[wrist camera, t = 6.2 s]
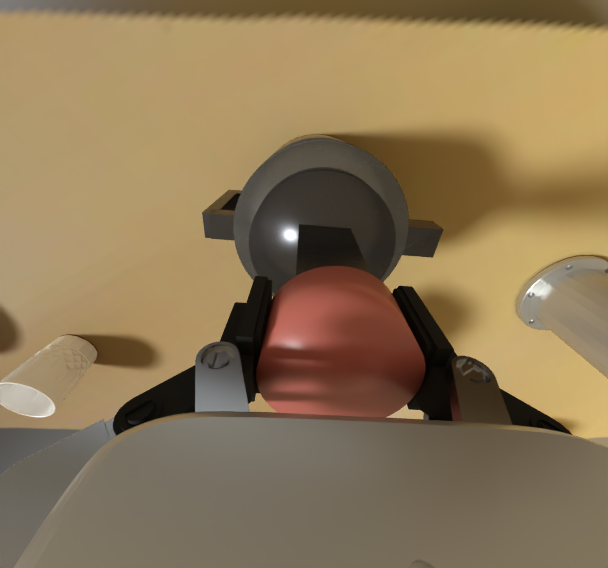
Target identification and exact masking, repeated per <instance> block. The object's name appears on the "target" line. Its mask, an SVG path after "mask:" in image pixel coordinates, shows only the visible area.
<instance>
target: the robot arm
mask: <svg viewBox="0 0 608 568" xmlns="http://www.w3.org/2000/svg"><path fill="white" fill-rule="evenodd" d="M392 295H393V297H394V299H395V300H396V302H397V304H398V306H399V308H400V310H401V312H402V314H403V316H404V318H405V320H406V322H407V324H408V326H409V328H410V330H411V331H412V333H413V335H414V337H415V339H416V341H417V343H418V345H419V347H420V349H421V351H422V353H423V356H424V360H425V376H424V380H423V382H422V385H421V387H420V389H419V390H418V392H417V393H416V395H415V396H414V397H413V398H412V399H411V400H410V401H409V402H408V403H407V406H408V409H413V410H421V411H423V412H424V416H423V417H424V420H421V419H402V418H382V417H361V416H340V415H318V414H295V413H272V412H250V411H249V406H248V404H249V403H250V402H251V401H253V402H254V401H255V395H256V393H260V391H259V389H258V385H257V380H256V370H257V364H258V360H259V357H260V352H261V347H262V342H263V337H264V331H265V326H266V321H267V316H268V311H269V306H270V304H271V301H272V280H268V277H267V276H255V278H254V282H253V285H252V288H251V291H250V294H249V297H248V300H247V303H238V302H236V303H235V304H234V306H233V309H232V311H231V314H230V317H229V319H228V322H227V324H226V327H225V329H224V332H223V335H222V337H221V340H220V342H214V343H210V344H208V345H206V346H204V347H203V348H202V349H201V350H200V351H199V352H198V354H197V356H196V360H195V365H194V366H193V367H191V368H189V369H187V370H185V371H183V372H181V373H179V374H178V375H176V376H174V377H172V378H170V379H168V380H166V381H164V382H163V383H161V384H159V385H157V386H155V387H153V388H151V389H150V390H148V391H146V392H144V393H142V394H140V395H138V396H136V397H135V398H133V399H131V400H130V401H128V402H127V403H125V404H124V405H123V406H122V407H121V408H120V409H119V411H118V412H117V414H116V415H115V417H114V418H113V419H111V420H109V421H107V422H104V420H101V421H99V422H97V423H95V424H93V425H91V426H89V427H87V428H85V429H83V430H81V431H79V432H77V433H75V434H73V435H71V436H69V437H67V438H65V439H63V440H61V441H59V442H57V443H55V444H53V445H51V446H49V447H47V448H45V449H43V450H41V451H39V452H37V453H35V454H33V455H31V456H29V457H27V458H25V459H23V460H21V461H19V462H18V463H16V464H15V465H13V466H11V467H10V468H9V469H7V470H6V471H5V472H4V473H3V474H2V475H1V476H0V568H608V448H607V447H605V446H603V445H600V444H598V443H595V442H592V441H590V440H587V439H584V438H581V437H578V436H574V435H572V434H571V433H570V431H568V430H567V429H566V428H565V427H564V426H563V425H562V424H560V423H559V422H557V421H555V420H554V419H552V418H551V417H549V416H547V415H545V414H544V413H542V412H540V411H538V410H537V409H535V408H533V407H531V406H530V405H528V404H526V403H524V402H523V401H521V400H519V399H517V398H516V397H514V396H512V395H510V394H509V393H507V392H505V391H503V390H502V389H500V388H499V386H498V383H497V380H496V377H495V375H494V374H493V372H492V371H491V370H490V369H489V368H488V367H487V366H486V365H485V364H483V363H482V362H480V361H478V360H476V359H474V358H471V357H468V356H457V355H456V353H455V352H454V349H453V347H452V346H451V344H450V343H449V341H448V340H447V338H446V337H445V335H444V334H443V332H442V331H441V329H440V328H439V326H438V325H437V323H436V322H435V320H434V319H433V317H432V316H431V314H430V313H429V311H428V309H427V308H426V306H425V305H424V303H423V302H422V300H421V299H420V297H419V296H418V294H417V293H416V291H415V290H414V288H413V287H409V286H399V287H398V288H397V289H394V290H393V293H392ZM516 312H517V314H518V317H519V318H520V319H521V320H522V321H523V322H524V323H525V324H526V325H527V326H529V327H531V328H534V329H538V330H551V331H552V332H553V333H554V334H555V335H557V336H558V337H559V338H560V339H561V340H562V341H564V342H565V343H566V344H567V345H568V346H570V347H571V348H572V349H573V350H574V351H576V352H577V353H578V354H579V355H580V356H582V357H583V358H584V359H585V360H586V361H587V362H589V363H590V364H591V365H592V366H593V367H595V368H596V369H597V370H598V371H599V372H601V373H602V374H603V375H604V376H605V377H607V378H608V261H606V260H604V259H602V258H598V257H595V256H576V257H572V258H568V259H565V260H562V261H559V262H557V263H555V264H553V265H551V266H549V267H547V268H545V269H544V270H542V271H541V272H539V273H538V274H537V275H536V276H535V277H533V278H532V279H531V280H530V281H529V282H528V283H527V284H526V286H525V287H524V288H523V290H522V291H521V293H520V295H519V297H518V300H517V304H516Z"/></svg>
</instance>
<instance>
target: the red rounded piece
mask: <svg viewBox="0 0 608 568" xmlns="http://www.w3.org/2000/svg"><path fill="white" fill-rule="evenodd" d="M424 376H425V360H424V356H423V353H422V351H421V349H420V347H419V345H418V343H417V341H416V339H415V337H414V335H413V333H412V331H411V330H410V328H409V326H408V324H407V322H406V320H405V318H404V316H403V314H402V312H401V310H400V308H399V306H398V304H397V302H396V300H395V299H394V297H393V295H392V293H391V292H390V290H389V289H388V287H387V286H386V285H385V284H384V283H383V282H382V281H380V280H379V279H378V278H377V277H375V276H373V275H371V274H370V273H368V272H365V271H363V270H360V269H356V268H352V267H346V266H325V267H319V268H315V269H311V270H308V271H306V272H303V273H301V274H299V275H297V276H295V277H294V278H292V279H291V280H289V281H288V282H287V283H285V284H284V285H283V286H282V287H281V288H280V289H279V290H278V292H277V293H276V294H275V296H274V297H273V299H272V301H271V304H270V306H269V311H268V316H267V321H266V326H265V331H264V337H263V342H262V347H261V352H260V357H259V360H258V364H257V370H256V380H257V385H258V389H259V391H260V393H261V395H262V397H263V398H264V399H265V401H266V402H267V403H268V404H269V405H270V406H271V407H272V408H273V409H274V410H276V411H277V412H278V413H295V414H318V415H340V416H361V417H382V418H385V417H387V416H389V415H391V414H393V413H395V412H396V411H398V410H400V409H401V408H402V407H404V406H405V405H406V404H407V403H408V402H409V401H410V400H411V399H412V398H413V397H414V396H415V395H416V393H417V392H418V390H419V389H420V387H421V385H422V382H423V380H424Z"/></svg>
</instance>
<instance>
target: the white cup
mask: <svg viewBox="0 0 608 568" xmlns="http://www.w3.org/2000/svg"><path fill="white" fill-rule="evenodd" d="M96 359H97V351H96V349H95V347H94V346H93V345H92V344H90V343H89V342H88V341H86V340H84V339H82V338H80V337H77V336H72V335H64V336H60V337H58V338H57V339H56V340H54V341H53V342H52V343H51V344H49V345H48V346H47V347H45V348H43V349H42V350H40V351H39V352H38V353H36V354H35V355H33V356H32V357H31V358H30V359H28V360H27V361H25V362H24V363H23V364H22V365H20V366H19V367H18V368H17V369H15V370H14V371H13V372H12V373H10V374H9V375H8V376H6V377H5V378H4V379H3V380H1V381H0V404H1V405H2V406H4V407H6V408H7V409H9V410H11V411H14V412H16V413H19V414H22V415H26V416H31V417H46V416H50V415H52V414H53V413H54V412H55V411H56V410H57V409H58V407H59V406H60V405H61V404H62V402H63V401H64V400H65V399H66V397H67V396H68V395H69V394H70V392H71V391H72V390H73V389H74V387H75V386H76V385H77V384H78V382H79V381H80V380H81V378H82V377H83V376H84V375H85V373H86V371H87V370H88V369H89V367H90V366H91V365H92V364H93V363H94V361H95V360H96Z"/></svg>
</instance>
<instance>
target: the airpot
mask: <svg viewBox="0 0 608 568" xmlns="http://www.w3.org/2000/svg"><path fill="white" fill-rule="evenodd" d="M202 214H203V222H204V231H205V238H211V239H224V240H235V246H236V249H237V253H238V255H239V258H240V260H241V263H242V264H243V266H244V268H245V270H246V271H247V273H248V274H249V275H250V277H251V278H252V279H253V280H254V278H255V276H267V277H268V280H272V296H273V297H274V296H275V294H276V293H277V292H278V290H279V289H280V288H281V287H282V286H283V285H284V284H285V283H287V282H288V281H289V280H291V279H292V278H294V277H295V276H297V275H299V274H301V273H303V272H306V271H308V270H311V269H315V268H319V267H325V266H346V267H352V268H356V269H360V270H363V271H365V272H368V273H370V274H371V275H373V276H375V277H377V278H378V279H379V280H380V281H382V282H384V281H385V279H386V278H387V277H388V276H389V275H390V274H391V272H392V271H393V269H394V268H395V267H396V265H397V263H398V261H399V259H400V258H401V256H402V255H408V256H421V257H433V255H434V253H435V250H436V247H437V245H438V242H439V239H440V237H441V234H442V231H443V229H442V228H441V227H439V226H438V225H437V224H435V223H434V222H433V221H423V220H411V219H408V209H407V204H406V200H405V197H404V194H403V191H402V189H401V187H400V185H399V183H398V181H397V180H396V178H395V177H394V176H393V174H392V173H391V172H390V170H389V169H388V168H387V167H386V166H385V165H384V164H383V163H382V162H381V161H379V160H378V159H377V158H375V157H374V156H373V155H371V154H370V153H368V152H366V151H364V150H362V149H360V148H358V147H356V146H353V145H351V144H349V143H346V142H344V141H341V140H339V139H337V138H334V137H331V136H328V135H322V134H310V135H304V136H301V137H297V138H295V139H293V140H291V141H289V142H287V143H286V144H284V145H283V146H282V147H281V148H280V149H278V150H277V151H276V152H275V153H274V154H273V155H272V156H271V157H270V158H269V159H268V160H266V161H265V162H264V163H263V164H262V165H261V166H260V167H259V168H258V169H257V170H256V171H255V172H254V174H253V175H252V176H251V177H250V179H249V180H248V182H247V183H246V185H245V186H244V188H243V190H242V191H239V190H228V191H227V192H226V193H225V194H223V195H222V196H221V197H220V198H219V199H218V200H216V201H215V202H214V203H213V204H212V205H210V206H209V207H208V208H207V209H206V210H205V211H203V212H202Z"/></svg>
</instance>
